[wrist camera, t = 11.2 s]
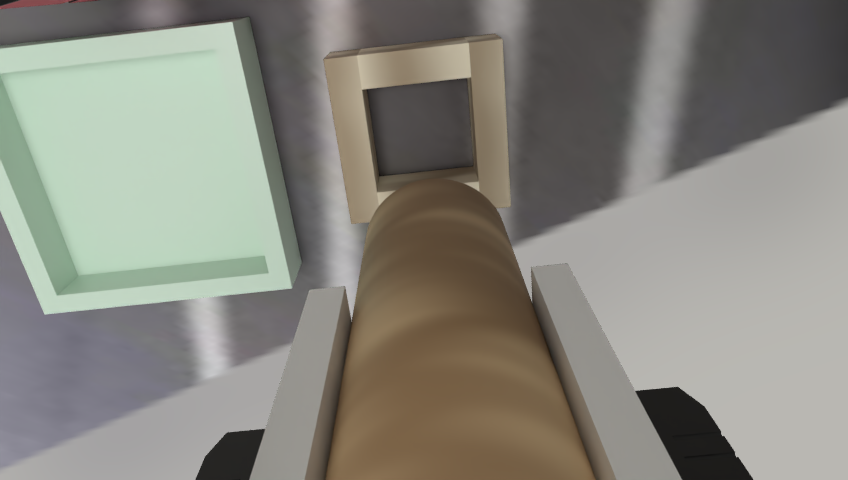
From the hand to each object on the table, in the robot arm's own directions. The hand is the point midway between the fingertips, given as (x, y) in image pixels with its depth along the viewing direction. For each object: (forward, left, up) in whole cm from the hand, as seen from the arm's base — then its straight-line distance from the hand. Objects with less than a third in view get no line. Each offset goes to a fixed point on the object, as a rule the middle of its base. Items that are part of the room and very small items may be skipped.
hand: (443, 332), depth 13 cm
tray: (+14, +1, -19) cm, 24 cm away
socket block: (0, 0, -19) cm, 19 cm away
